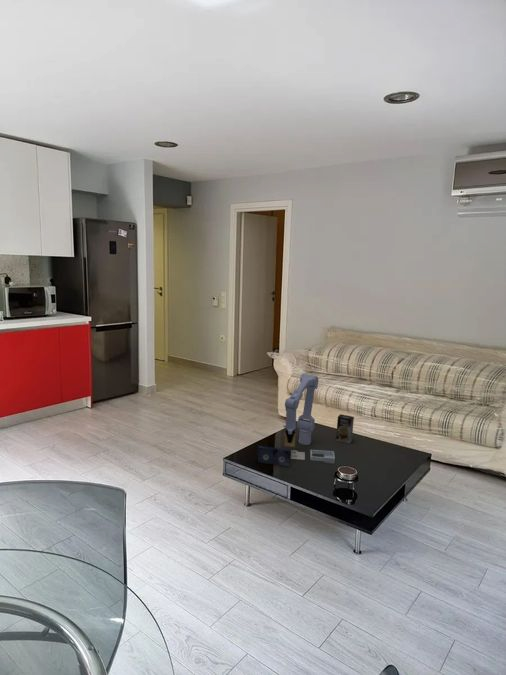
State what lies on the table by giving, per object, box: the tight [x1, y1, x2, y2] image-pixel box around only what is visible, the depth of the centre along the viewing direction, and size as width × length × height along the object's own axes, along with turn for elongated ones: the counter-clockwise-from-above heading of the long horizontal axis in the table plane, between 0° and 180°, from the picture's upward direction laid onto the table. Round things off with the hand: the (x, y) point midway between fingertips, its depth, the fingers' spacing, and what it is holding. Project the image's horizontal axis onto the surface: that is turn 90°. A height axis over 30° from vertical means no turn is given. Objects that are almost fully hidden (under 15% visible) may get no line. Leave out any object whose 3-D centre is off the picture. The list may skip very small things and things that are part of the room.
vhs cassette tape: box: [257, 445, 292, 468], centre depth 250 cm, size 18×3×10 cm, turn 74°
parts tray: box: [309, 449, 336, 465], centre depth 260 cm, size 10×14×3 cm
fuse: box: [283, 432, 296, 448], centre depth 261 cm, size 3×6×7 cm, turn 84°
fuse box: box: [290, 449, 306, 461], centre depth 262 cm, size 10×18×2 cm, turn 84°
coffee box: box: [335, 413, 355, 444], centre depth 287 cm, size 9×6×16 cm
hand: (289, 441), depth 261 cm, fingers closed on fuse, 3 cm apart
